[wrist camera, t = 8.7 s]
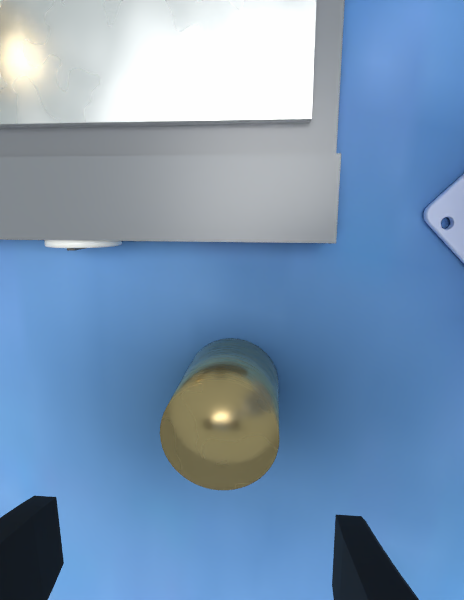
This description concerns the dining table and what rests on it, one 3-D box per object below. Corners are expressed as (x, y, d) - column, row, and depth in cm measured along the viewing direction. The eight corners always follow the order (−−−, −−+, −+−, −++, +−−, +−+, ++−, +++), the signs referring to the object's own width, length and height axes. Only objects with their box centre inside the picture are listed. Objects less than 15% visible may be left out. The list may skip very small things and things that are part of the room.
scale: (323, 246, 18) (335, 255, 15) (-94, 241, 20) (-172, 248, 17) (343, -151, 15) (364, -261, 12) (-152, -111, 17) (-262, -194, 13)
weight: (297, 384, 20) (304, 442, 15) (232, 440, 21) (218, 511, 16) (232, 319, 19) (218, 356, 14) (169, 379, 20) (136, 432, 15)
